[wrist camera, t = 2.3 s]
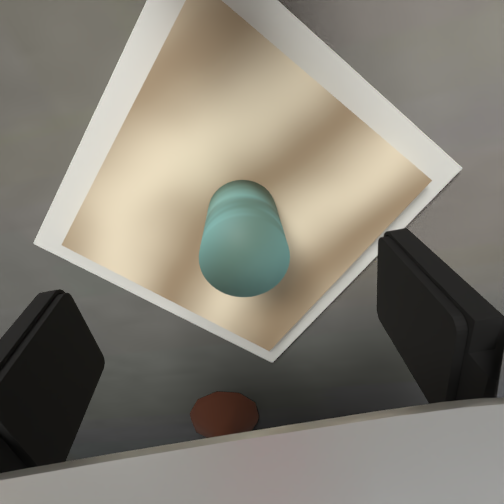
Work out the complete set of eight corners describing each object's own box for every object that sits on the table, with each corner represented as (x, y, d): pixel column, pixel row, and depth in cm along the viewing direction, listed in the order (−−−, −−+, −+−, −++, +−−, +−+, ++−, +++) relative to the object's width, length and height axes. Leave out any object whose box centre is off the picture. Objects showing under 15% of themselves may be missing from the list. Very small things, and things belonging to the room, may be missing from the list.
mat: (458, 166, 19) (462, 168, 18) (271, 358, 25) (272, 362, 24) (187, -80, 13) (185, -84, 13) (36, 240, 20) (33, 243, 19)
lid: (422, 175, 18) (499, 216, 13) (268, 340, 23) (277, 419, 18) (199, -15, 14) (176, -69, 9) (69, 237, 19) (5, 300, 14)
